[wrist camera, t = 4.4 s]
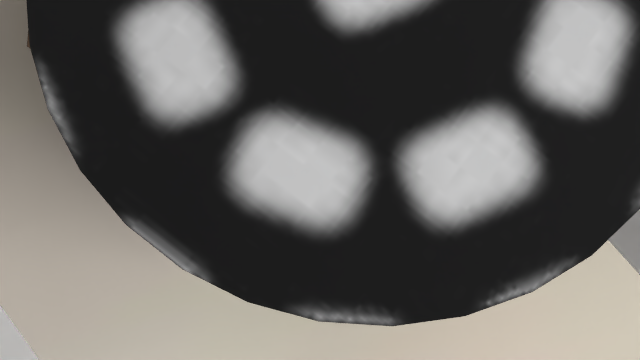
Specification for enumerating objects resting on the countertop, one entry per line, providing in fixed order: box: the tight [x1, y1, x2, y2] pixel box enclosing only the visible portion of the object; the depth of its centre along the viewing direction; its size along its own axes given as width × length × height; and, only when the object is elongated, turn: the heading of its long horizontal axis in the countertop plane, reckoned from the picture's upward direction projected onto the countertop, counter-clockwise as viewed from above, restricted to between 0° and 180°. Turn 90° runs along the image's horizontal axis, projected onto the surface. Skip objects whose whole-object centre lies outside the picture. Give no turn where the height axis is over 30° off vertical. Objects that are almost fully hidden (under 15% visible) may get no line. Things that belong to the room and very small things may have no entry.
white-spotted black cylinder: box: [27, 0, 640, 326], centre depth 17 cm, size 8×8×20 cm
